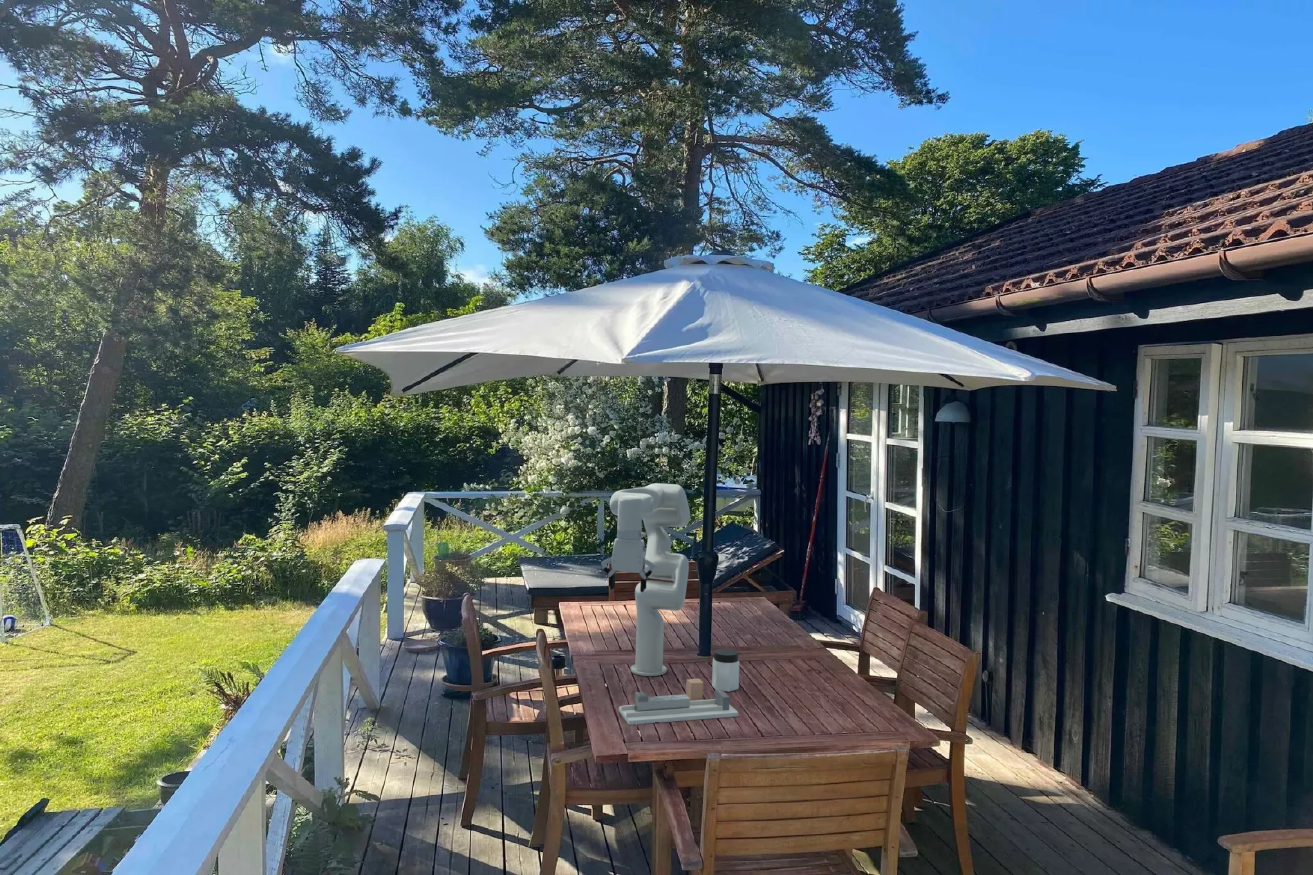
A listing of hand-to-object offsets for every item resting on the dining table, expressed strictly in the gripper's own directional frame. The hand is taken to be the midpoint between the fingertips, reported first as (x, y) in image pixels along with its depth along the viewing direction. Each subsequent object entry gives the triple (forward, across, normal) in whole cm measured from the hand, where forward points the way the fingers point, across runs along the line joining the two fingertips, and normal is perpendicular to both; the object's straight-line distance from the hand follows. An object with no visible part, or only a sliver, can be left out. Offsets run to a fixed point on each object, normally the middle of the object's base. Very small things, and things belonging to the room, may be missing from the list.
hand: (627, 590), depth 268 cm
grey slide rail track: (+35, -18, +6) cm, 40 cm away
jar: (+35, -29, -22) cm, 51 cm away
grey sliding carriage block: (+34, -14, +9) cm, 37 cm away
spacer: (+35, -21, -8) cm, 42 cm away
